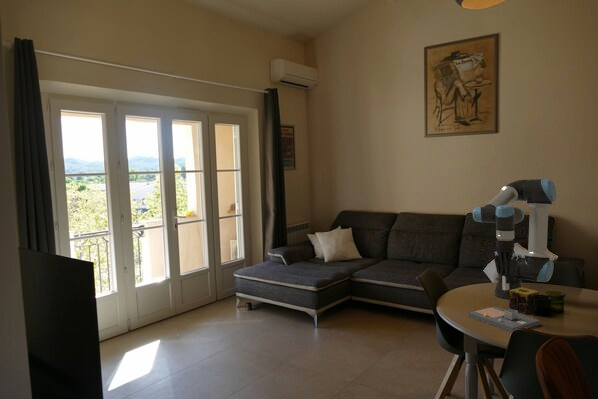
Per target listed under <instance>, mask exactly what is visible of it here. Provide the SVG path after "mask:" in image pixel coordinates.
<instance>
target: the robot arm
mask: <svg viewBox="0 0 598 399" xmlns="http://www.w3.org/2000/svg"><path fill="white" fill-rule="evenodd" d="M556 200H557V189H556V186H555V182H553V180H552V179H545V178H544V179H543V178H540V179H539V178H538V179H534V178H533V179H519V180H515V181H512V182H510V183H507V184H505V186H503V187H501V188H500V191H499V193H498V194H497V195H495V196H494V197H493V198H492V199H491V200H489V201H488V202H486V204H485V205H483V206H475V207H474V209H473V210H472V218H473V221H474V222H478V223H491V224H492V223H493V224H495V230H496V231H495V232H496V234H495V235H496V236H495V237H496V241H495V242H496V243H495V244H496V251H494V252H492V253H491V255H492V256H493V259H494V263H495V269H496V272H497V281H496V282H497V283H496V286H495V288H494V296H495V297H497V298H499V299H504V300H510V293H509V290H513V289H517V288H521V287H522V288H524V287H523V284H522V280H526V281H533V282H539V283H540V282H542V283H547V282H549V281H550V280H551V277H552V276H553V273H554V267H555V266H554V261H553V260H550V259H551V258H550V256H549V254H548V253H547V251H548V247H547V246H548V229H549V228H548V225H549V222H548V221H549V208H550V207H551V206H552V204H553V203H554V202H555V201H556ZM519 201H520V202H521V201H522V202H526V205H527V206H528V207H529V218H528V219H529V220H528V221H529V222H528V223H529V225H528V245H527V247H528V249H527V251H528V252H526V253H525V254H524V257H522V255H521V254H520V253H516V252H515V240H514V239H515V225H516V224H519V223H520V222H522V221H523V220H524V219H525V212H524V210H523V209H521V208H520V207H518V206H517V207H514V206H513V205H510V204H511V203H512V204H513V203H515V202H519Z"/></svg>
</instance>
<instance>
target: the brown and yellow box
mask: <svg viewBox="0 0 598 399" xmlns="http://www.w3.org/2000/svg"><path fill="white" fill-rule="evenodd" d="M522 287H523V286H522ZM522 287H521V288H517V289H513V290H509V293H510V299H509V303H508V306H509V307H508V309H513V310H517V311H518V313H521V314H524V315H530V314H534V297H535V296H537V295H539V296H540V291H539V290H534V289H530V288H526V287H523V288H522Z"/></svg>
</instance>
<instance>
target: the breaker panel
mask: <svg viewBox="0 0 598 399" xmlns="http://www.w3.org/2000/svg"><path fill="white" fill-rule="evenodd" d="M504 310H506V309H504V308H501V307H497V306H490V307H485V308H482V309H478V310H475V311H474V310H473V311H469V312H468V317H469V318H471V319H474V320H477V321H480V322H483V323H485V324H489V325H491V326H494V327H496V328H499V329H502V330H504V331H505V330H506V331H507V332H510V333H513V332H512V331H513V330H515V329H516V328H519V327H527V329H530V328H533V327H538V326H539V325H541V322H540V321H541V320H540V319H537V318H533V317H530V316H527V315H525V314H524V315H523V314H522V313H521V314H520V313H518V318H517V319H514V320H510V319H507V318H504Z"/></svg>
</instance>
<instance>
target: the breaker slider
mask: <svg viewBox="0 0 598 399" xmlns="http://www.w3.org/2000/svg"><path fill="white" fill-rule="evenodd" d="M518 314H519V312H518V311H517V310H513V309H509V308H507V309H505V310H504V318H507V319H510V320H514V319H517V318H518Z"/></svg>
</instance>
